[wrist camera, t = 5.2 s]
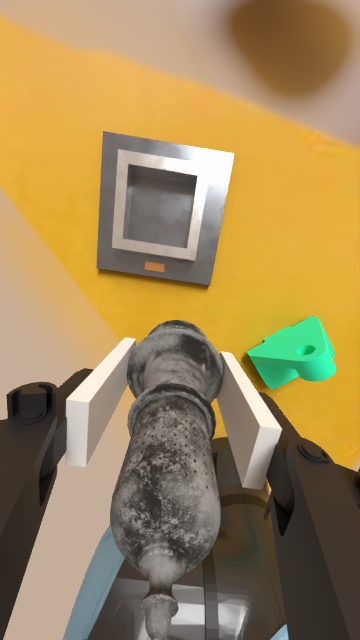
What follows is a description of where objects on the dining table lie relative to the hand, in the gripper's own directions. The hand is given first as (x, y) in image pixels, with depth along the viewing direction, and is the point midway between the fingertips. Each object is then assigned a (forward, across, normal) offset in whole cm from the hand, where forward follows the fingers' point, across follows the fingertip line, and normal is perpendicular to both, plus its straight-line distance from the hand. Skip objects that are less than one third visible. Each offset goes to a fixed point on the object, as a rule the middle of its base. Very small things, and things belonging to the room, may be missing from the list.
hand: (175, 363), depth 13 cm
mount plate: (+19, +5, -14) cm, 24 cm away
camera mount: (+19, -20, +4) cm, 28 cm away
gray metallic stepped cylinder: (+2, 0, 0) cm, 2 cm away
